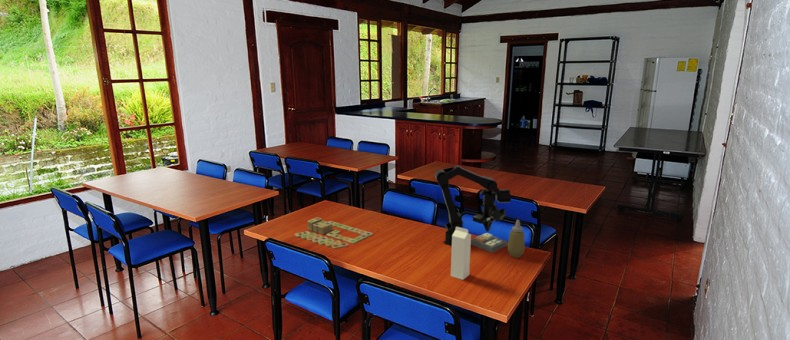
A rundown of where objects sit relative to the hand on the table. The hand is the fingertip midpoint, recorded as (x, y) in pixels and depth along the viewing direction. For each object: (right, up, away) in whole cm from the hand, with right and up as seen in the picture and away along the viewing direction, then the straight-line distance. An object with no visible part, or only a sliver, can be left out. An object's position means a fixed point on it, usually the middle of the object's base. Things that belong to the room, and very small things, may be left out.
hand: (487, 231), depth 218 cm
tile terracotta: (-4, -4, -2) cm, 6 cm away
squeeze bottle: (+11, -10, -14) cm, 20 cm away
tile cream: (0, -7, -6) cm, 9 cm away
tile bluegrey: (+4, -6, -3) cm, 8 cm away
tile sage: (0, -4, +1) cm, 4 cm away
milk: (-19, -14, -34) cm, 42 cm away
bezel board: (0, -7, -2) cm, 7 cm away
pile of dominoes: (-81, -4, +11) cm, 82 cm away
